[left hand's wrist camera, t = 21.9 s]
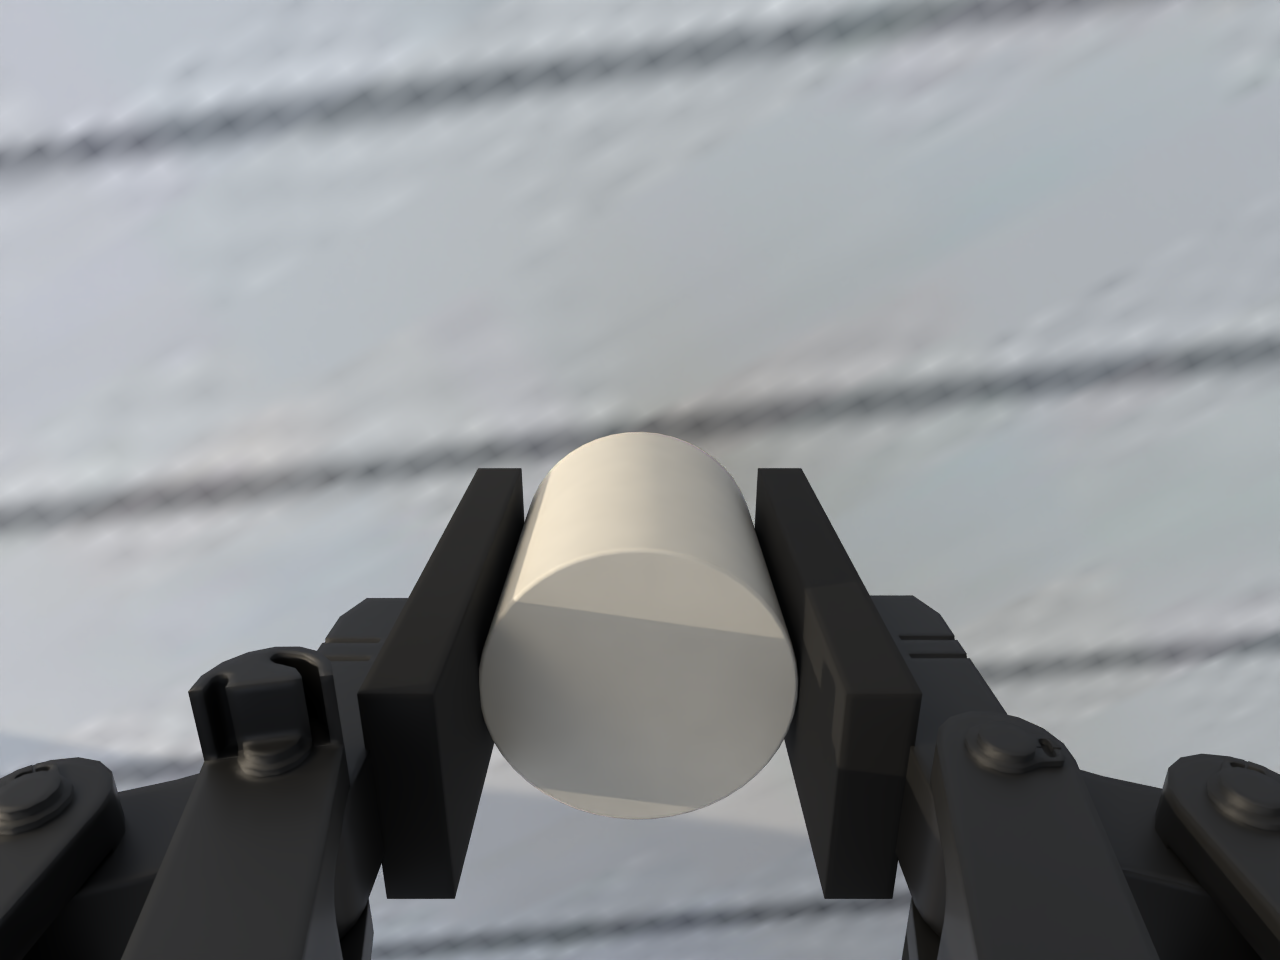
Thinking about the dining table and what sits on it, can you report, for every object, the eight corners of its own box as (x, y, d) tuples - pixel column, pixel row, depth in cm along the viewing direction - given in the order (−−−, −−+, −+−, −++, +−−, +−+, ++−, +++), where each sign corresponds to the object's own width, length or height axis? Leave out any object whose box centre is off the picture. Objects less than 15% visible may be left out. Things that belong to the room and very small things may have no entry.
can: (773, 450, 14) (834, 575, 10) (726, 650, 16) (761, 838, 11) (540, 413, 14) (494, 524, 10) (513, 620, 15) (463, 800, 11)
